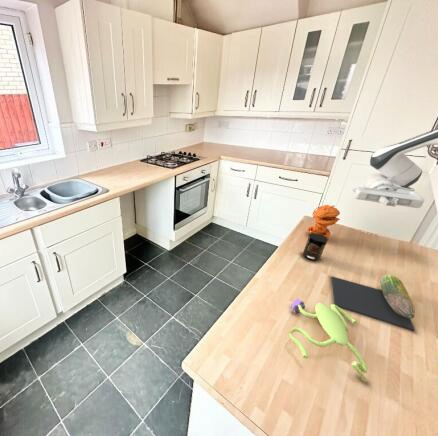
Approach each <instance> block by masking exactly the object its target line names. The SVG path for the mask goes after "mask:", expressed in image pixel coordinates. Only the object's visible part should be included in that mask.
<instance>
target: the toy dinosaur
mask: <svg viewBox="0 0 438 436" xmlns="http://www.w3.org/2000/svg"><path fill="white" fill-rule="evenodd" d="M340 214H341V212H340V210H339V209H338V208H337V207H336V205H335V204H332V205H330V204H324V205H321V206H318V207H316V208H315V209H314V210H313V211H312V215H311V216H312V219H314V222H315V223H314V225H311V226H308V227H307V231H306V233H309V234H311V233H317V234H321V235H323V236H325V237H327V239H328V240H329V239H330V236H331V231H330V229H329V228H328V227H330V226H333V225H336V224H337V223H338V221H340V220H341V218H339V216H340Z"/></svg>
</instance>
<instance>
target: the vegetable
mask: <svg viewBox="0 0 438 436" xmlns="http://www.w3.org/2000/svg"><path fill="white" fill-rule="evenodd" d="M381 277H382V278H381V279H380V287H381V290H382V291H383V295H384V297H385V299H386V300H387V302H388V303H389V305H390V306H391V307H392V309H393V310H394V311H395V312H396V313H397V314H399V315H401V316H404V317H406V318H408V319H410V320H412V319H414V318H415V312H416V308H415V305H414V303H413V301H412V298H411V296H410V295H409V292H408V290H407V288H406V287H405V285H404V283H403V282H402V281H401V279H399V278H398V276H395V275H393V274H385V275H383V276H381Z"/></svg>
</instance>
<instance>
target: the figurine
mask: <svg viewBox="0 0 438 436" xmlns="http://www.w3.org/2000/svg"><path fill="white" fill-rule="evenodd" d="M291 309H292V311H293V313H294V314H300V313H301V314H302V315H303V316H305V317H308V318H311V319H317V320H318V322H319V324H320V326H321V327H322V329H323V331H324V332H325V333H326V334H327V336H328V337H329V339H327V340H324V341H317V340H316V339H313V337H312V336H311V335H310V334H309V333H308V332H306V331H305V330H304V329H302V328H300V327H297V326H295V327H292V328H291V329H290V332H289V338H290V340H291V341H292V343H294V344H295V345H296V346H297V347H298V348H299V350H300V352H301V354H302V358H303V359H309V355H308V352H307V350H306V349H307V348H305V346H304V345H303V344H302V343H301V341H299V340H298V339H297V338H296V337H295V336H294V335H293V333H295V332H298V333H300V334H301V335H303V336H304V337H305V338H306V339H307V340H308V341H309V342H310V343H311V344H312V345H315V346H317V347H320V348H324V347H325V348H326V347H328V346H331V345H333V344H335V343H337V345H340V346H346V347H347V348H348V349H350V351H352V353H353V354H354V356H355V357H356V359H357V360H358V361H353V362H352V363H351V366H352V368H353V370H354V371H355V372H356V373H357V374H358V375H359V376H360V379H361V380H362V381H364V382H368V380H367V377H366V376H365V375H364V373H365V374H367V373H368V366H367V363H366V362H365V359H364V357H362V355H361V353H360V352H359V351H358V349H357V348H356V347H355V346H354V345H353V344H352V343H350V341H349V335H348V332H347V330H349V326H348V324H347V322H346V320H345V319H344V317H345V318H346V319H347V320H348V321H350V322H351V323H352V324H356V323H357V320H356V319H354V318H353V317H352V316H351V315H349V314H348V313H347V312H346V311H345V310H344V309H343V308H340V307H338V306H337V305H335V303H331V304H330V307H329V306H328V305H326V304H325V303H322V302H317V303H316V304H315V308H314V310H315V313H310V312H307V311H305V309H306V305H305V303H304V301H303V300H301V299H299V298H296V299H295V300H294V301H293V302H292V303H291Z"/></svg>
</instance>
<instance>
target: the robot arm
mask: <svg viewBox="0 0 438 436" xmlns="http://www.w3.org/2000/svg"><path fill="white" fill-rule="evenodd" d="M428 146H438V128H434V129H431V130H428V131H427V132H424V133H421V134H419V135H416V136H413V137H410V138H408V139H405V140H403V141H400V142H397V143H394V144H390V145H387V146H384V147H382V148H380V149H378V150H377V151H375V152H373V153H372V155H371V156H370V159H369V165H370V166H371V167H372V168H373V169H375V170H376V171H378V172H376V173H372V174H369V175H368V176H367V177H366V178H365V180H364V186H357V187H356V188H355V187H353V188H352V192H353V193H354V194H353V198H354V199H355V200H359V201H366V202H373V203H378V204H383V205H384V206H387V207H393V208H395V207H396V206H400V207H407V208H414V209H419V208H422V206H423V204H424V203H425V198H424V197H423V196H422V195H421V194H420V193H419V192H416V191H415V188H413V187H410V186H412V185H414V184H416V183H417V182H419V180H420V178H421V176H422V174H423V169H422V168H421V167H420V166H419V165H417V163H415V162H414V161H413V160H411V159H410V158H409V157H408V156H407V155H406V154H407V153H410V152H413V151H416V150H418V149H422V148H425V147H428Z"/></svg>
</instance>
